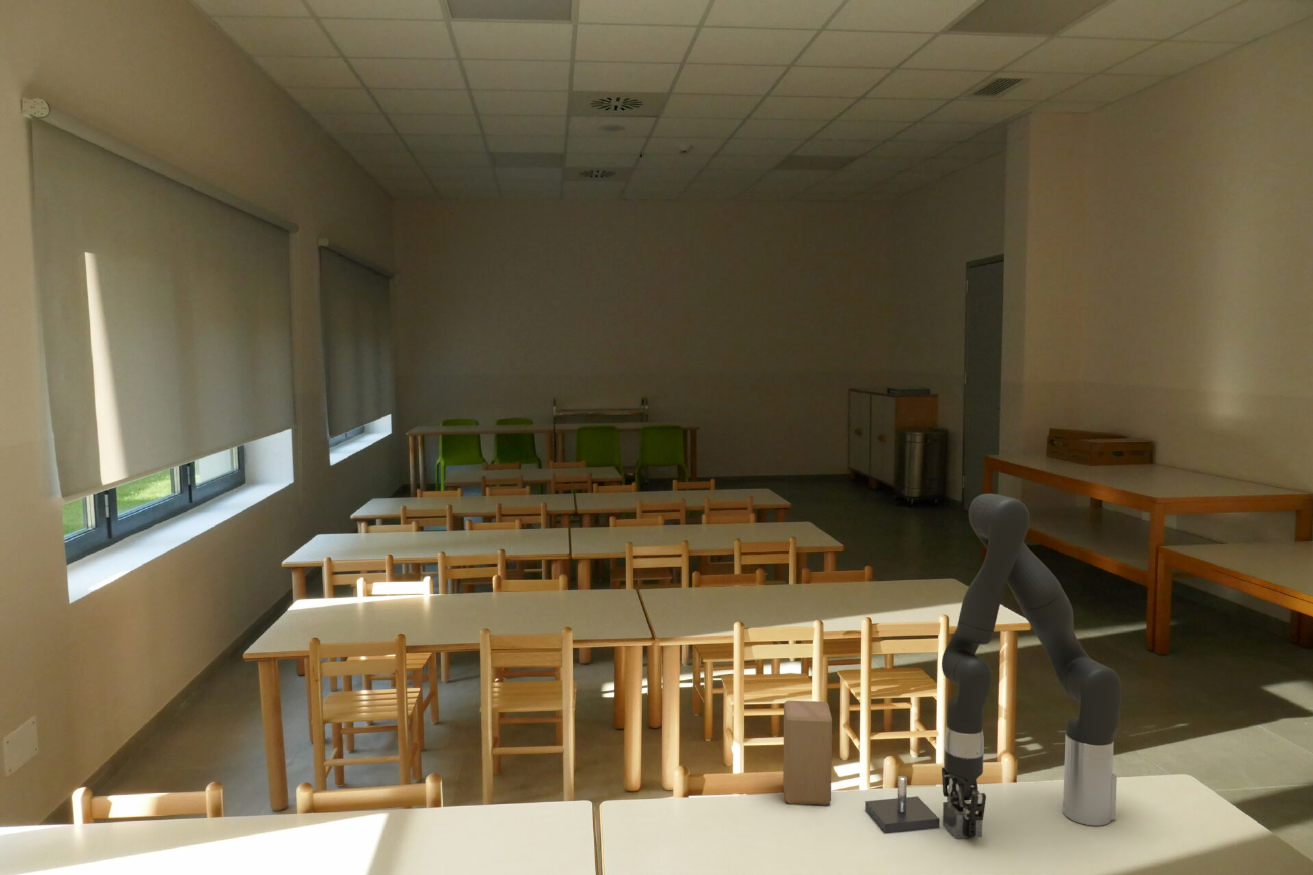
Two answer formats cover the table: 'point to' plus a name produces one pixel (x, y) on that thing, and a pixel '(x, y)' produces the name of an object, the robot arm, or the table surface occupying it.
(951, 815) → the collar
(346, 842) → the table surface
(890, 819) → the shaft block
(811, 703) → the wooden block
